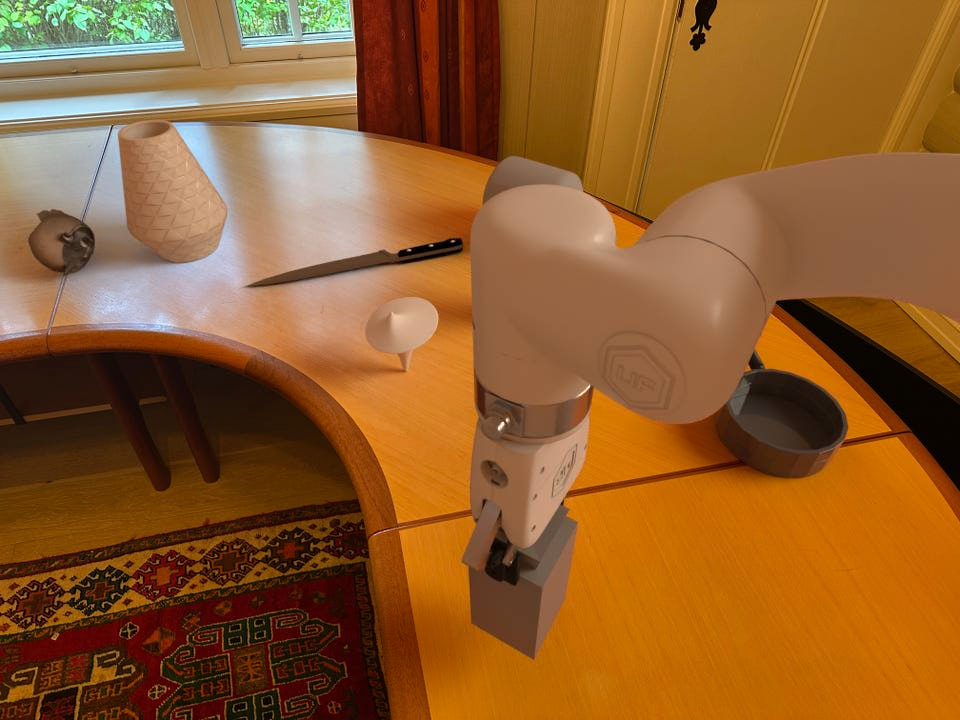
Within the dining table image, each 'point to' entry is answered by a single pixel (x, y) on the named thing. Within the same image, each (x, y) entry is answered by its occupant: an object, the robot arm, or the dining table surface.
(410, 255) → the steak knife
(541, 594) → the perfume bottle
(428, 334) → the white spinning top
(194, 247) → the vase
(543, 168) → the jar
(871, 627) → the dining table surface
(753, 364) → the pan handle
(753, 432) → the pan
